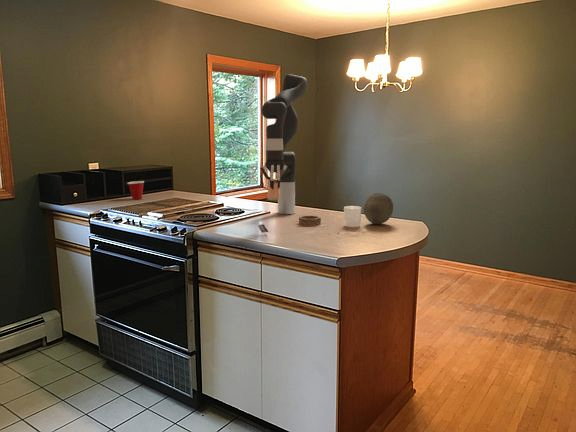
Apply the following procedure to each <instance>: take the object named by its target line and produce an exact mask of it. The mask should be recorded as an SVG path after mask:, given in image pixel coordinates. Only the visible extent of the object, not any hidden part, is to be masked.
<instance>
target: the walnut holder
mask: <svg viewBox="0 0 576 432" xmlns="http://www.w3.org/2000/svg"><path fill="white" fill-rule="evenodd" d="M292 223H293V224H294V225H295V226H296V227H297V228H311V227H312V228H313V227H314V228H315V227H318V228H319V227H328V226H329V225H327V224H326V223H325V222H324V221H323V220H322V218H321V217H320V216H319V215H302V216H298V220H297V221H292Z"/></svg>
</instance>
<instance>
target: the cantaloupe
mask: <svg viewBox="0 0 576 432" xmlns="http://www.w3.org/2000/svg"><path fill="white" fill-rule="evenodd" d="M393 212H394V202H393V199H392V198H391V197H390V196H389V195H388V194H385V193H381V192H380V193H379V192H376V193H373V194H372V193H371V194H370V195H369V196H368V197H367V198H366V200H365V203H364V206H363V213H364V216H365V218H366V219H367V221H368V222H369V223H371V224H372V225H377V226H378V225H381V224H384V223H386V222H388V220H389V219H391V217H392V215H393Z"/></svg>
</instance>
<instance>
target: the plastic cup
mask: <svg viewBox="0 0 576 432" xmlns="http://www.w3.org/2000/svg"><path fill="white" fill-rule="evenodd" d="M127 185H128V188H129V191H130V194H131V199H132V200H134V201H136V200H137V201H138V200H139V201H140V200H142V199H143V191H144V185H145V181H144V180H137V181H129V182H127Z"/></svg>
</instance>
